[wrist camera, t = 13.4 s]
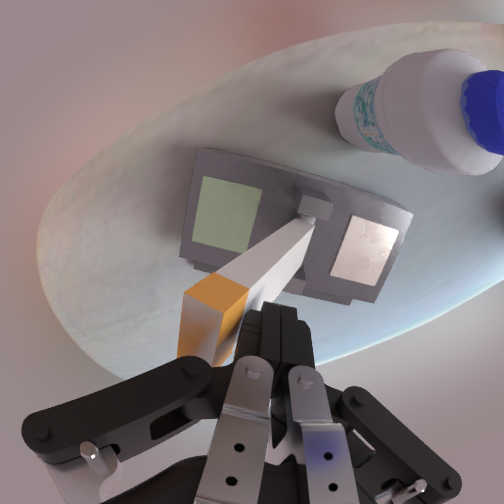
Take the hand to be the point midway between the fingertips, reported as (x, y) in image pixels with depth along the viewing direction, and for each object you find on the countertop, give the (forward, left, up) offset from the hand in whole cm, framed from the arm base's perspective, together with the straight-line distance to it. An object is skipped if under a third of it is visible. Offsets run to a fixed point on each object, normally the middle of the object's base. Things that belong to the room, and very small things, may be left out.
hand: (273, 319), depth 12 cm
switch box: (-2, 0, -17) cm, 17 cm away
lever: (-2, 0, -11) cm, 11 cm away
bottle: (-6, -12, -17) cm, 21 cm away
